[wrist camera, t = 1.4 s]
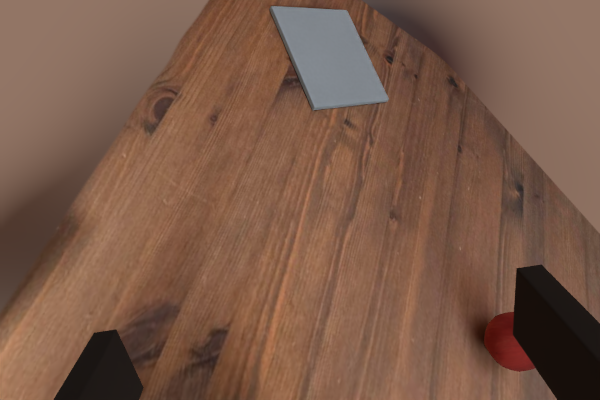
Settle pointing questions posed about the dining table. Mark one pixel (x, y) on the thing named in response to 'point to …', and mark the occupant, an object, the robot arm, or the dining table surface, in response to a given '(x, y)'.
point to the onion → (505, 344)
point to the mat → (328, 57)
